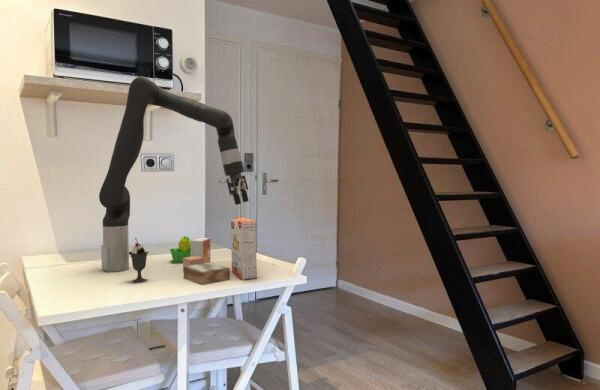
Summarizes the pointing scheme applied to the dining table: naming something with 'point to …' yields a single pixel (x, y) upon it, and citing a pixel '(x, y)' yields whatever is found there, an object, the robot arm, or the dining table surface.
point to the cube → (192, 261)
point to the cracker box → (243, 248)
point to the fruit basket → (181, 250)
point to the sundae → (138, 261)
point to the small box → (200, 248)
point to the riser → (206, 273)
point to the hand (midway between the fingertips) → (242, 203)
